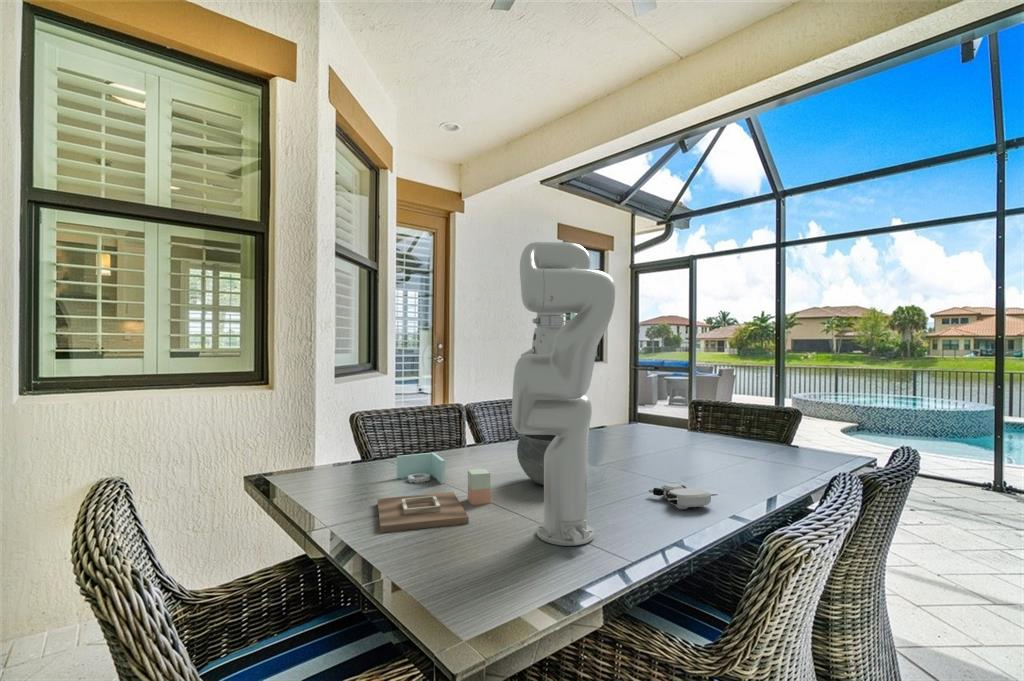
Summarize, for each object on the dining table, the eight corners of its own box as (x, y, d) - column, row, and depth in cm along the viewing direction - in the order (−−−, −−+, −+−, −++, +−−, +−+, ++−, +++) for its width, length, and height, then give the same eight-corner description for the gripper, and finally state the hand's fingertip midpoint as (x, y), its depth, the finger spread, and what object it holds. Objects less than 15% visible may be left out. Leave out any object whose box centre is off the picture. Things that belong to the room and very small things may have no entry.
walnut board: (468, 523, 113) (468, 511, 113) (380, 532, 107) (380, 520, 107) (453, 497, 132) (453, 487, 132) (377, 504, 126) (377, 494, 126)
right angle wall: (396, 479, 151) (396, 455, 151) (433, 475, 156) (434, 452, 156) (405, 490, 140) (405, 464, 141) (444, 485, 146) (445, 460, 146)
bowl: (585, 496, 134) (585, 442, 134) (510, 491, 138) (510, 438, 138) (588, 476, 154) (588, 429, 154) (523, 472, 158) (523, 426, 159)
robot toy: (645, 500, 133) (679, 514, 119) (645, 483, 134) (678, 496, 119) (683, 496, 137) (720, 510, 122) (682, 480, 137) (719, 491, 123)
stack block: (490, 503, 127) (490, 473, 128) (471, 505, 126) (471, 474, 126) (485, 497, 132) (485, 468, 132) (467, 499, 131) (467, 469, 131)
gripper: (527, 321, 129) (527, 386, 128) (584, 323, 135) (583, 384, 135) (516, 323, 136) (516, 383, 135) (571, 324, 142) (570, 382, 142)
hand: (550, 384), depth 135 cm, fingers open, 9 cm apart
